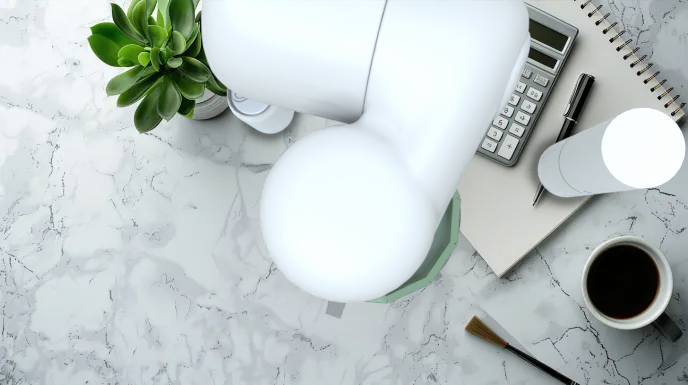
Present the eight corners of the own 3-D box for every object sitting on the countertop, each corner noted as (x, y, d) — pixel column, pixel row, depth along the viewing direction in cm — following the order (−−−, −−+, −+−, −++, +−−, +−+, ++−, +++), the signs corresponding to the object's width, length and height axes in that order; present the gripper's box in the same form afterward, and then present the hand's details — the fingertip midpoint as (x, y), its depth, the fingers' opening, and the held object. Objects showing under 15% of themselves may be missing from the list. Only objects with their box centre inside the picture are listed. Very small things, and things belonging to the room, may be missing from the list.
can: (246, 88, 83) (221, 67, 71) (293, 84, 82) (276, 62, 71) (249, 136, 83) (224, 122, 71) (296, 132, 82) (280, 118, 70)
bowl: (410, 109, 57) (412, 98, 52) (481, 252, 56) (490, 256, 51) (269, 178, 58) (257, 174, 53) (336, 320, 57) (330, 331, 52)
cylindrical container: (588, 201, 79) (678, 194, 54) (532, 192, 79) (595, 180, 54) (597, 147, 79) (691, 114, 54) (541, 138, 80) (608, 101, 55)
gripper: (372, 375, 36) (380, 322, 54) (470, 94, 36) (445, 134, 54) (253, 330, 37) (299, 293, 54) (350, 55, 37) (364, 107, 54)
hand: (372, 214), depth 54 cm, fingers closed on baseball, 7 cm apart
